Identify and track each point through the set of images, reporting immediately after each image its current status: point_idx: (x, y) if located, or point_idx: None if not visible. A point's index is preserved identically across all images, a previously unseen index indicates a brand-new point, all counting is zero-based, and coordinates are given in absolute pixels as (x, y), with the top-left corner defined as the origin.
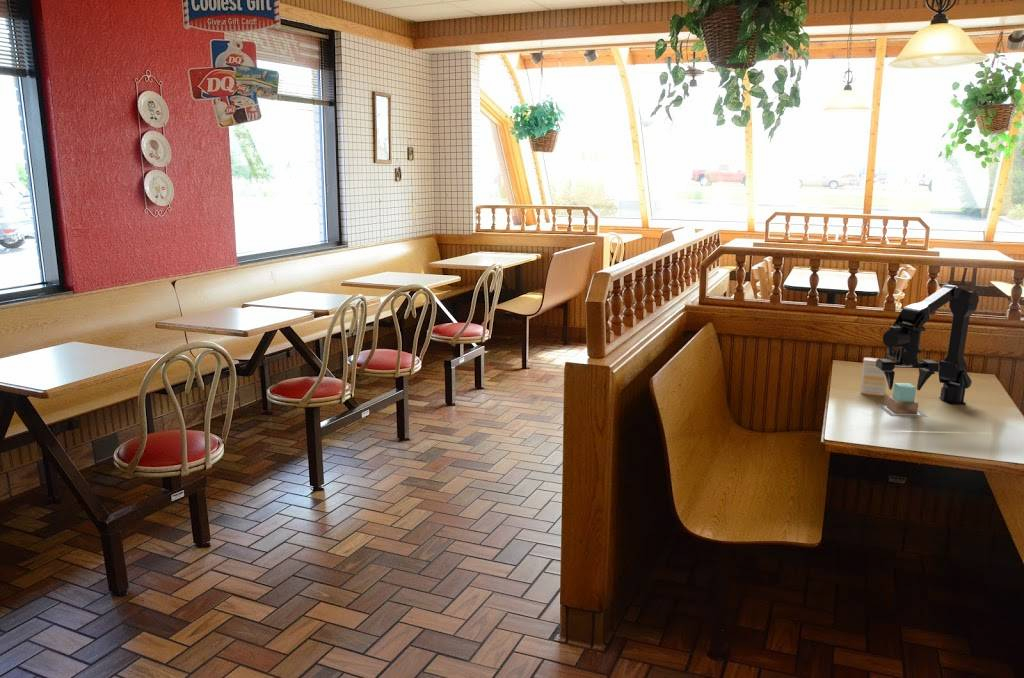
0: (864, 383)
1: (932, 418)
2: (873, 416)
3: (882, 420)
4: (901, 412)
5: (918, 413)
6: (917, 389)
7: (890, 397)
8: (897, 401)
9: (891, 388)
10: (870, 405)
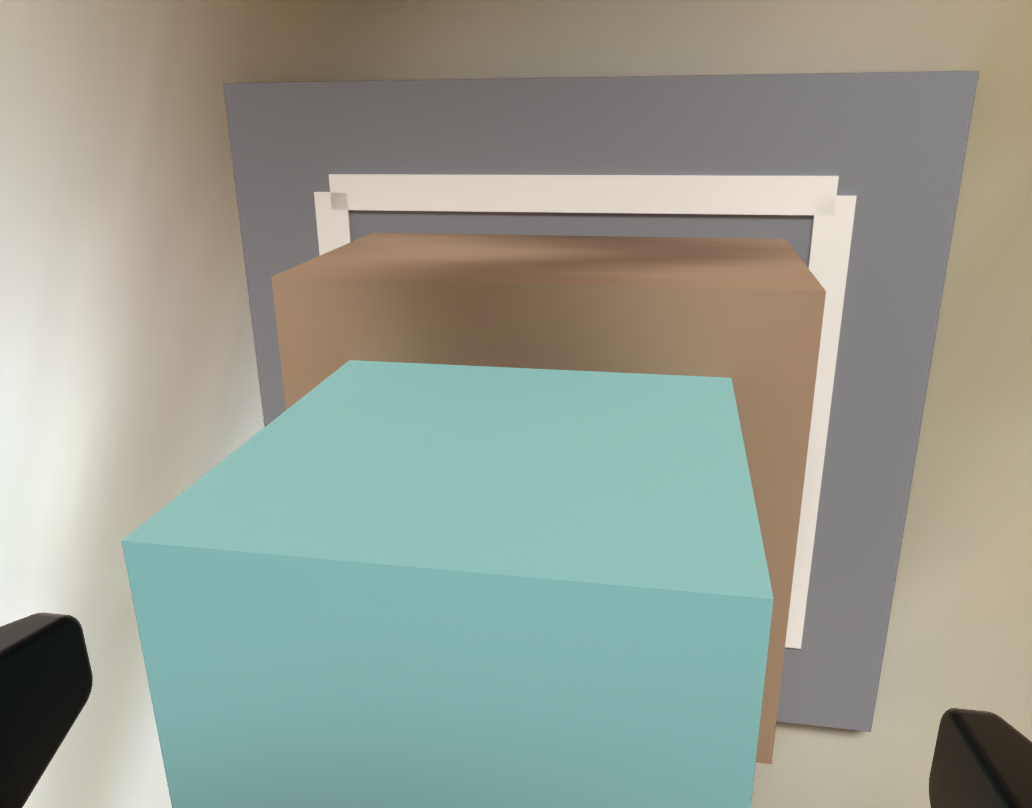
0: None
1: (936, 735)
2: (79, 619)
3: (158, 760)
4: None
5: (795, 587)
6: (942, 744)
7: (288, 398)
8: None
9: (52, 739)
10: (137, 61)
